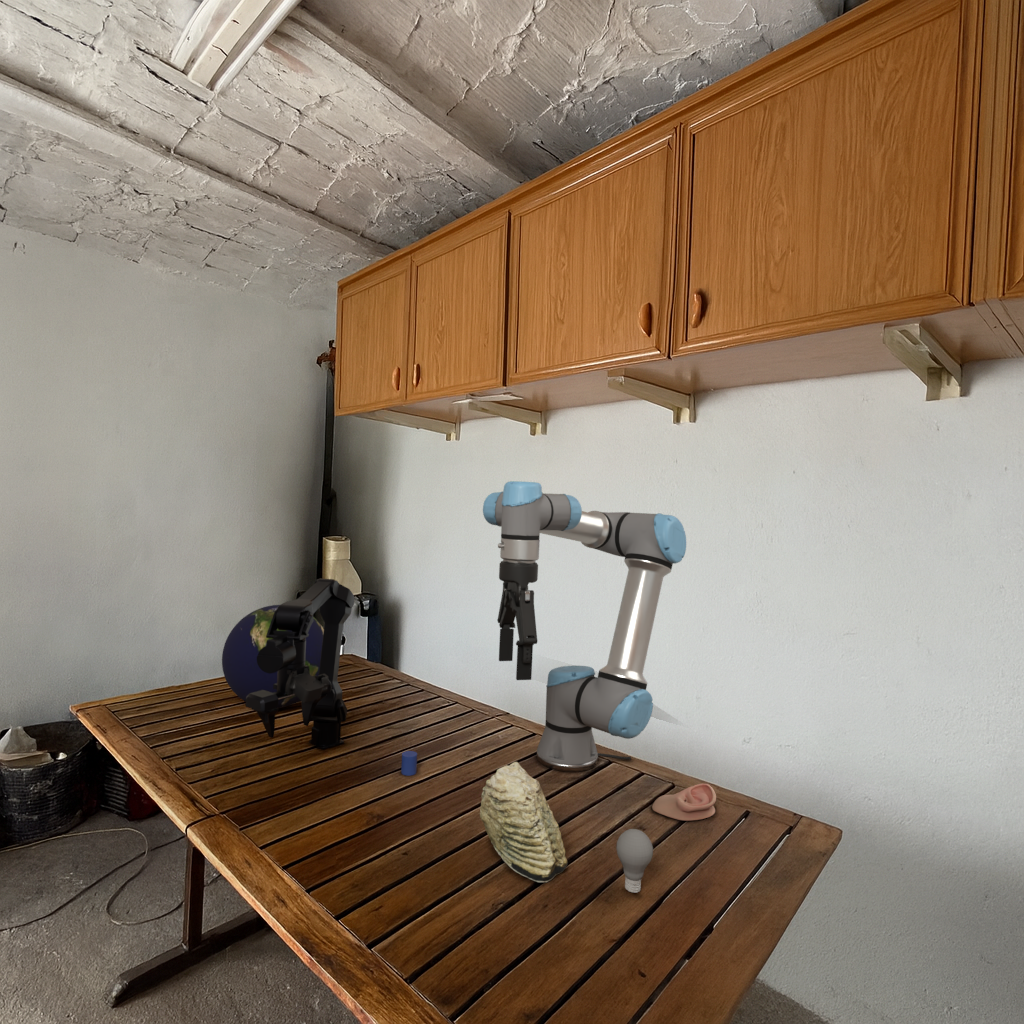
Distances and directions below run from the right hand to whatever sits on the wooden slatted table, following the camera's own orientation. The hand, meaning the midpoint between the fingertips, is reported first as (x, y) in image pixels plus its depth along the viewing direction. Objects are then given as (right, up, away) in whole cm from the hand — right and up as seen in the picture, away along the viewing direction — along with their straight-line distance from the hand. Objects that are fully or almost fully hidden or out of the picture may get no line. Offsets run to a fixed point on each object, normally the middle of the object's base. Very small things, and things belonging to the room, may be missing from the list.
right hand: (514, 669), depth 123 cm
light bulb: (+20, -33, -18) cm, 42 cm away
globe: (-71, -27, +65) cm, 100 cm away
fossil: (+1, -32, -9) cm, 33 cm away
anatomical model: (+36, -33, +12) cm, 50 cm away
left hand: (-50, -18, +17) cm, 56 cm away
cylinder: (-24, -30, +24) cm, 46 cm away
